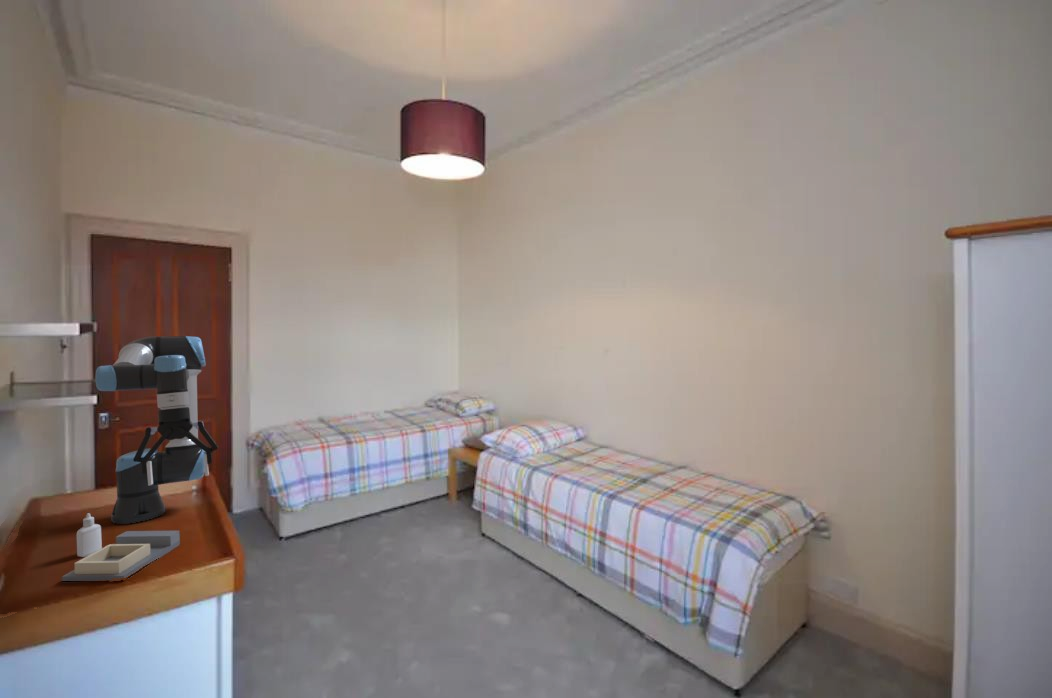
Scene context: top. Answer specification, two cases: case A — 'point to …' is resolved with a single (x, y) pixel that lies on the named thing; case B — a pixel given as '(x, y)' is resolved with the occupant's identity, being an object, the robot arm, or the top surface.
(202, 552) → the top surface
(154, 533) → the plate
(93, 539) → the eye dropper bottle
